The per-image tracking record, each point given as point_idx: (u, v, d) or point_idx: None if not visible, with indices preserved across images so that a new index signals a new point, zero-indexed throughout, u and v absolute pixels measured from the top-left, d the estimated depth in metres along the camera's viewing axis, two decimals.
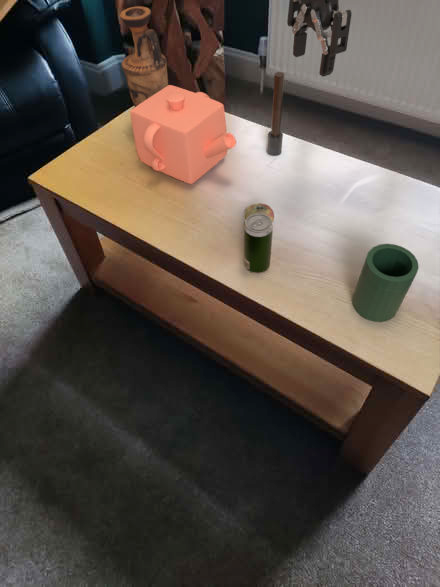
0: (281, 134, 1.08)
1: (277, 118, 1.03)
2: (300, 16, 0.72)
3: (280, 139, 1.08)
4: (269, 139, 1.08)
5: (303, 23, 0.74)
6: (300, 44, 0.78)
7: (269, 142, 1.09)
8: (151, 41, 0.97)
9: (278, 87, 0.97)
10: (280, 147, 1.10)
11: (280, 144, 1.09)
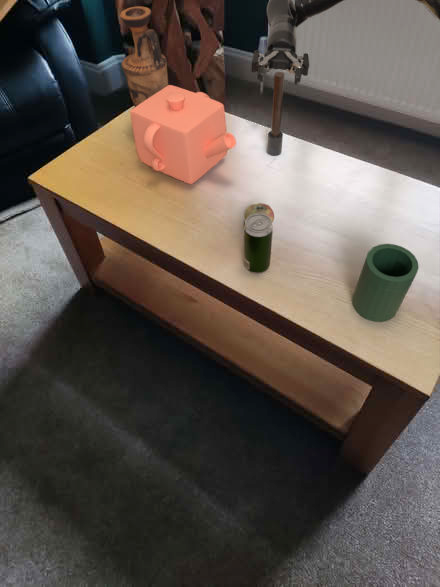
0: (281, 134, 1.08)
1: (277, 118, 1.03)
2: None
3: (280, 139, 1.08)
4: (269, 139, 1.08)
5: (291, 69, 1.09)
6: (295, 76, 1.06)
7: (269, 142, 1.09)
8: (151, 41, 0.97)
9: (278, 87, 0.97)
10: (280, 147, 1.10)
11: (280, 144, 1.09)
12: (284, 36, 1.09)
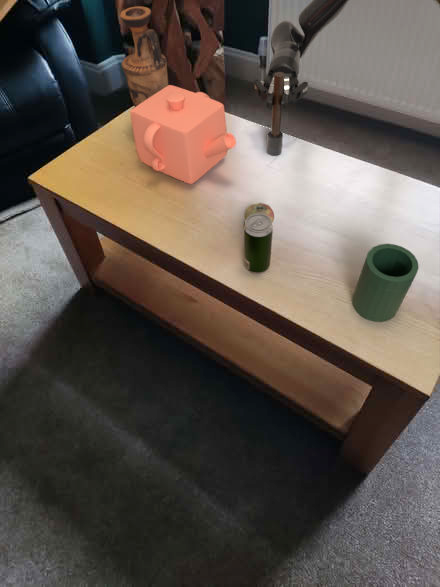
0: (281, 134, 1.08)
1: (277, 118, 1.03)
2: None
3: (280, 139, 1.08)
4: (269, 139, 1.08)
5: None
6: None
7: (269, 142, 1.09)
8: (151, 41, 0.97)
9: (277, 87, 0.97)
10: (280, 147, 1.10)
11: (280, 144, 1.09)
12: (285, 61, 1.04)
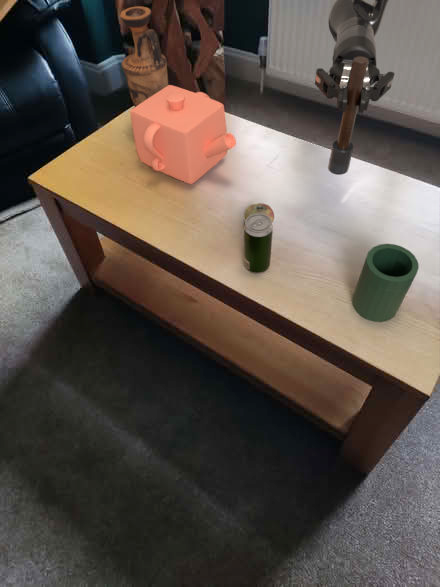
0: (351, 145, 0.77)
1: (349, 123, 0.73)
2: None
3: (350, 152, 0.77)
4: (334, 152, 0.78)
5: None
6: (359, 101, 0.70)
7: (334, 156, 0.78)
8: (151, 41, 0.97)
9: (357, 78, 0.67)
10: (348, 163, 0.79)
11: (349, 159, 0.78)
12: (360, 43, 0.74)
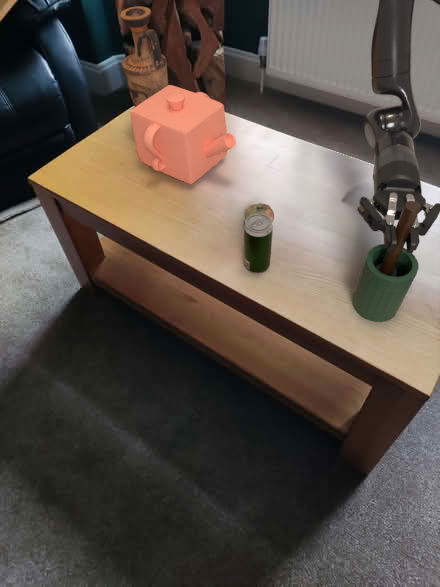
0: (395, 271, 0.75)
1: (396, 256, 0.70)
2: None
3: None
4: None
5: None
6: (408, 240, 0.67)
7: None
8: (151, 41, 0.97)
9: (408, 222, 0.64)
10: None
11: None
12: (405, 171, 0.71)
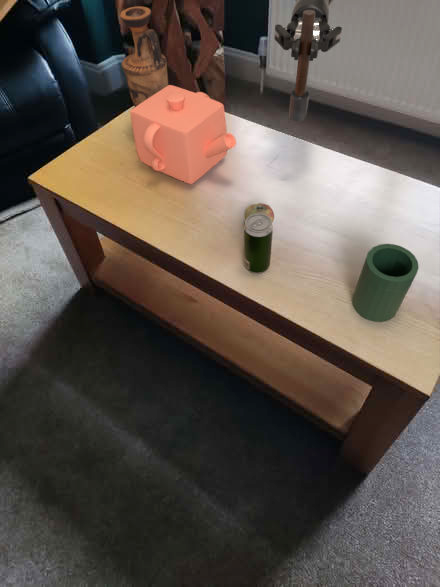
0: (307, 93, 0.88)
1: (303, 71, 0.84)
2: None
3: (306, 99, 0.88)
4: (292, 100, 0.88)
5: None
6: None
7: (292, 104, 0.89)
8: (151, 41, 0.97)
9: (307, 29, 0.78)
10: (305, 110, 0.90)
11: (306, 106, 0.89)
12: (313, 2, 0.85)
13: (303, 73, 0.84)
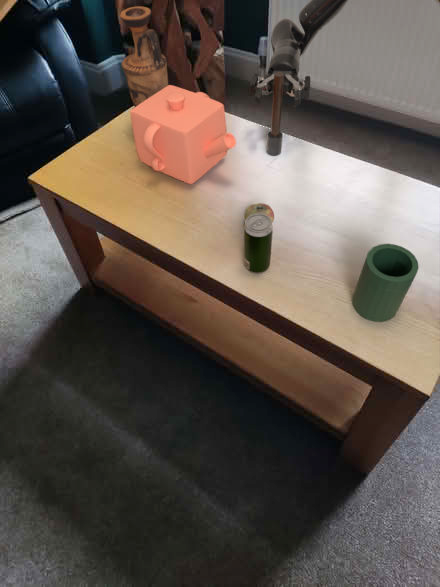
0: (281, 134, 1.08)
1: (276, 118, 1.03)
2: None
3: (280, 139, 1.08)
4: (269, 139, 1.08)
5: (291, 92, 1.03)
6: None
7: (269, 142, 1.09)
8: (151, 41, 0.97)
9: (277, 87, 0.97)
10: (280, 147, 1.10)
11: (280, 144, 1.09)
12: (285, 59, 1.04)
13: (276, 119, 1.04)
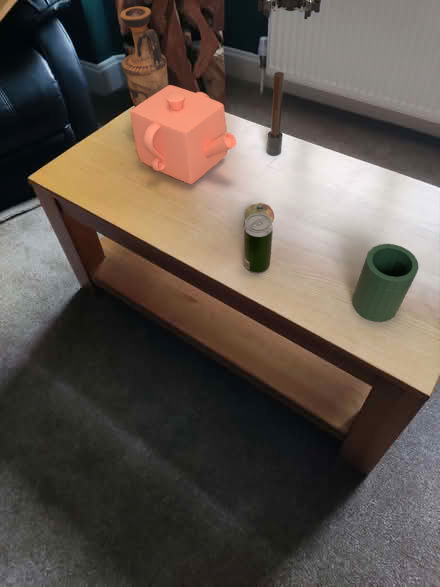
0: (281, 134, 1.08)
1: (276, 118, 1.03)
2: None
3: (280, 139, 1.08)
4: (269, 139, 1.08)
5: (301, 7, 1.00)
6: None
7: (269, 142, 1.09)
8: (151, 41, 0.97)
9: (277, 87, 0.97)
10: (280, 147, 1.10)
11: (280, 144, 1.09)
12: None
13: (276, 119, 1.04)
